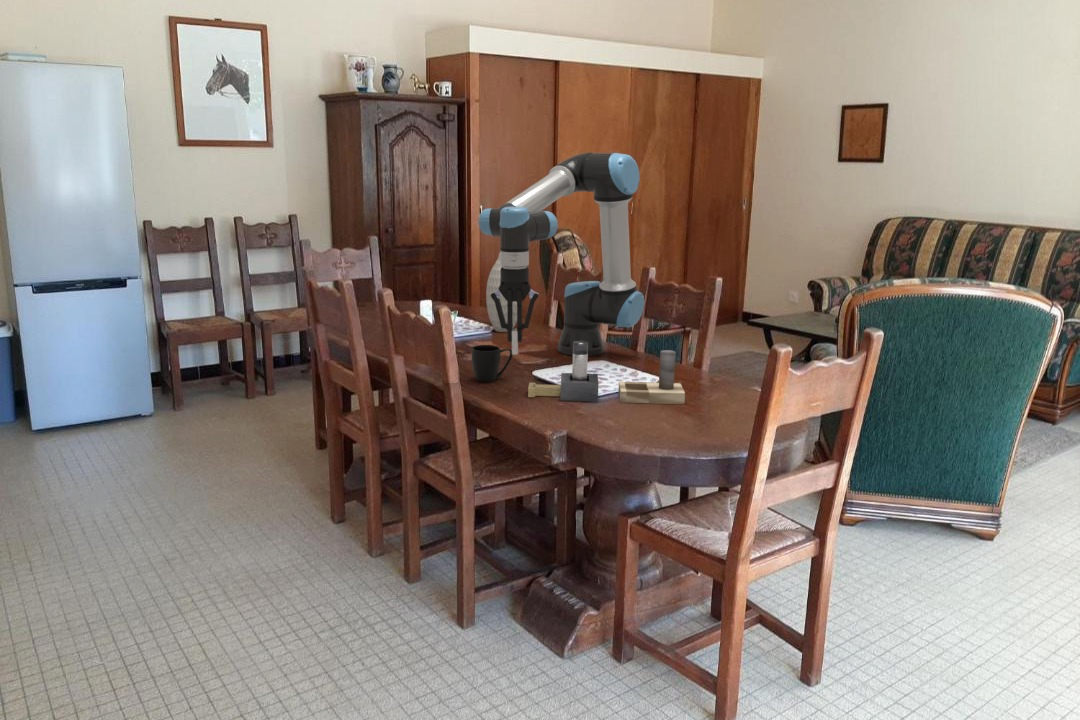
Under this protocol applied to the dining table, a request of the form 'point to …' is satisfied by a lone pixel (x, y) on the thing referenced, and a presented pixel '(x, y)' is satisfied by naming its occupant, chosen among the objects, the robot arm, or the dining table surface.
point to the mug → (488, 362)
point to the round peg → (580, 361)
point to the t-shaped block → (543, 390)
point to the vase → (491, 307)
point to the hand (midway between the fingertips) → (515, 353)
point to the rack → (655, 386)
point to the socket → (579, 388)
